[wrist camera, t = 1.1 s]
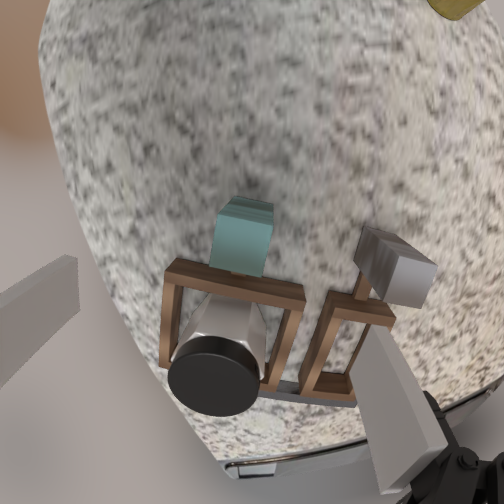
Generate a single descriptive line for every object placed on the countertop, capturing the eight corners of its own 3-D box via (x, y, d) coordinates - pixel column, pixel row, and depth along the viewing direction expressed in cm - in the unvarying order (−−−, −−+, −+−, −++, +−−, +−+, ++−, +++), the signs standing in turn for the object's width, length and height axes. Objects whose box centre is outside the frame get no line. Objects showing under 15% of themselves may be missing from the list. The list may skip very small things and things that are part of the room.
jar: (234, 359, 37) (220, 430, 26) (182, 323, 36) (150, 388, 25) (280, 315, 35) (282, 384, 23) (224, 273, 33) (201, 331, 22)
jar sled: (186, 186, 31) (149, 200, 21) (321, 215, 31) (343, 242, 21) (168, 348, 37) (142, 399, 28) (275, 372, 37) (274, 429, 28)
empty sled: (349, 222, 31) (380, 251, 21) (407, 238, 31) (452, 269, 21) (298, 375, 37) (302, 432, 28) (348, 381, 37) (363, 436, 28)
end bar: (179, 359, 38) (175, 370, 35) (355, 389, 38) (359, 400, 35) (179, 367, 38) (174, 378, 36) (351, 396, 38) (354, 407, 36)
